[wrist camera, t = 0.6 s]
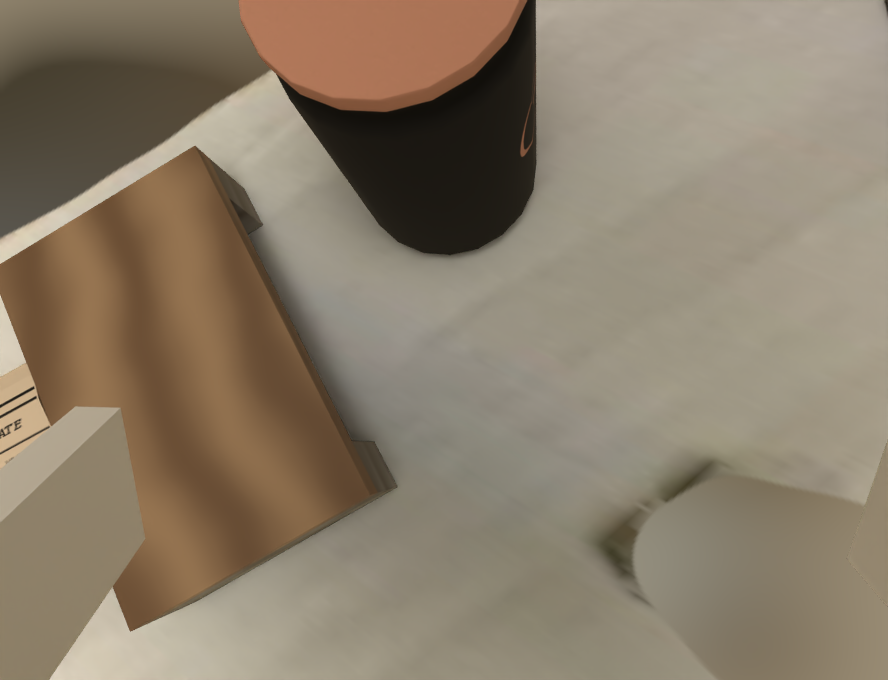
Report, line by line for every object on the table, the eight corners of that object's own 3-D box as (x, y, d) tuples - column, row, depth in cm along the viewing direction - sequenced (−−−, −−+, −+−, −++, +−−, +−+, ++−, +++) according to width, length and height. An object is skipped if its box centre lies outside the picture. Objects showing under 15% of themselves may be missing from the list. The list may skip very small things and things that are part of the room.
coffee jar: (562, 223, 37) (584, 23, 20) (398, 286, 38) (279, 148, 20) (501, 76, 39) (472, -221, 22) (348, 139, 40) (202, -99, 23)
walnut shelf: (244, 188, 41) (194, 145, 35) (397, 487, 36) (369, 495, 30) (68, 294, 41) (-10, 269, 36) (195, 602, 37) (130, 631, 31)
